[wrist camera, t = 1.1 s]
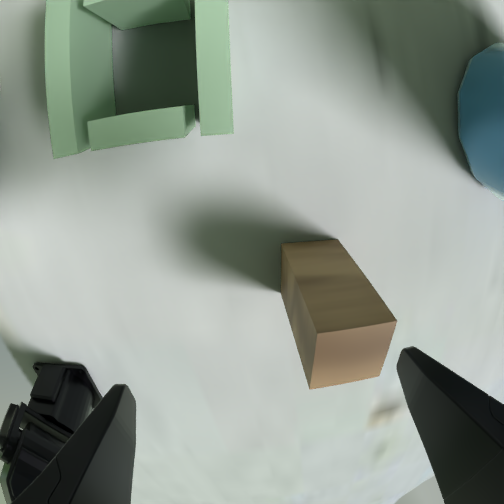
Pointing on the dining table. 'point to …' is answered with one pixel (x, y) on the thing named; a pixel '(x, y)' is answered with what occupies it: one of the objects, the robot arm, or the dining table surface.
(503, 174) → the wine bottle
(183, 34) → the dining table surface
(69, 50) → the green open frame
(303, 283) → the walnut peg
